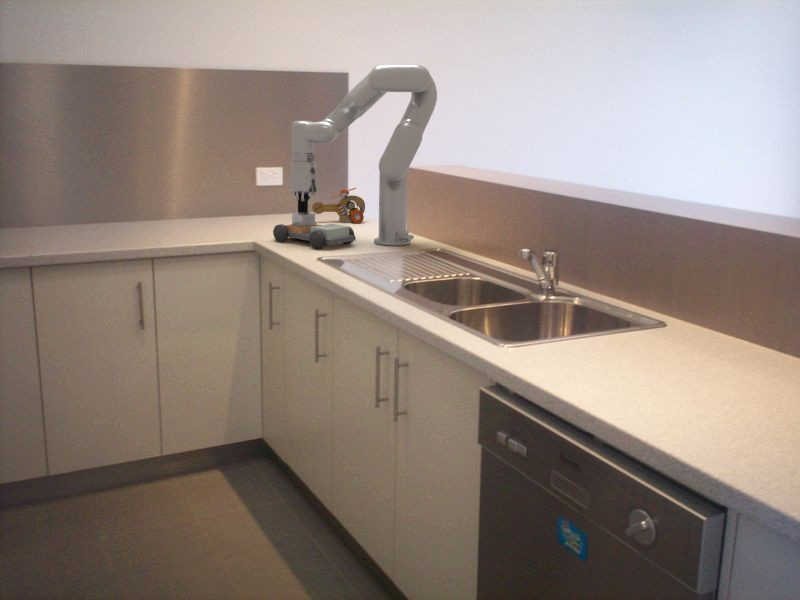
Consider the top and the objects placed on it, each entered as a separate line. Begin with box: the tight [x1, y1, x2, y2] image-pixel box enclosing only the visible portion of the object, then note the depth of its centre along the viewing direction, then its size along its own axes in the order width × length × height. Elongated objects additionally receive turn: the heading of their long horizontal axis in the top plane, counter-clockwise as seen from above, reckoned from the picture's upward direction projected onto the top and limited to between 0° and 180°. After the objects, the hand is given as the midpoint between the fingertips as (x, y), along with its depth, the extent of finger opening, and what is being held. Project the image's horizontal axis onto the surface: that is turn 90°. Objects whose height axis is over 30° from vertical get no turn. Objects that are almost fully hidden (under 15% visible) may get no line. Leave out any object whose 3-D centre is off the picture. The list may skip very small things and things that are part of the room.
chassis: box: [272, 222, 356, 250], centre depth 299 cm, size 28×15×6 cm, turn 48°
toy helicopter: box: [311, 187, 366, 224], centre depth 345 cm, size 8×21×14 cm, turn 101°
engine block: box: [291, 211, 316, 228], centre depth 302 cm, size 5×6×6 cm
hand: (302, 212), depth 301 cm, fingers closed
